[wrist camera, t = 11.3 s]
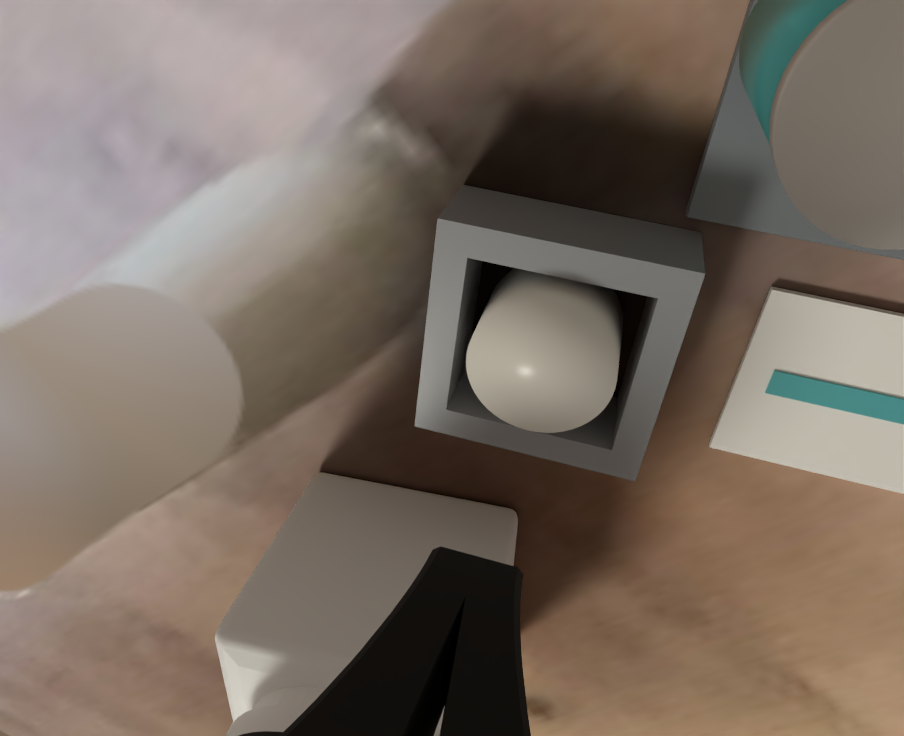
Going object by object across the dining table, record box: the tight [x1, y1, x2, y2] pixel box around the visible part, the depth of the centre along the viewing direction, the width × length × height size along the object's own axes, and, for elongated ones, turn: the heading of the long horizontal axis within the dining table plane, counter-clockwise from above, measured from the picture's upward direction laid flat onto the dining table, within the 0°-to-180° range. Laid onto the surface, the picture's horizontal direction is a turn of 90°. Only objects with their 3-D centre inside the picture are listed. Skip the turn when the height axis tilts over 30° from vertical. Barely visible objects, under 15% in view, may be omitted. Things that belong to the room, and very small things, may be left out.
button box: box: [415, 185, 705, 481], centre depth 19 cm, size 6×6×2 cm
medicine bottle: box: [215, 473, 518, 736], centre depth 22 cm, size 7×7×12 cm
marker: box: [739, 0, 904, 250], centre depth 12 cm, size 3×3×7 cm
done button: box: [466, 268, 623, 433], centre depth 19 cm, size 4×4×3 cm
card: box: [709, 286, 904, 494], centre depth 19 cm, size 6×5×1 cm
